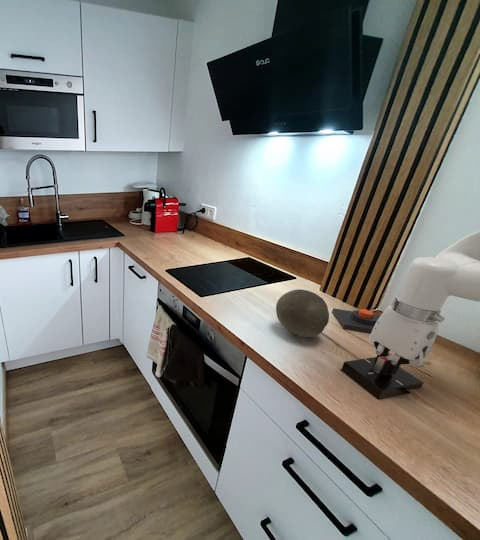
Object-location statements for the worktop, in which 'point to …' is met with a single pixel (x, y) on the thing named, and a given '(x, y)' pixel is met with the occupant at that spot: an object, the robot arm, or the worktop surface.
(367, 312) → the kettle button
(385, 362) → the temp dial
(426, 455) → the worktop surface
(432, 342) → the robot arm
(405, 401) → the worktop surface
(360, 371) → the panel
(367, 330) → the grey flat block
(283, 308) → the cantaloupe
